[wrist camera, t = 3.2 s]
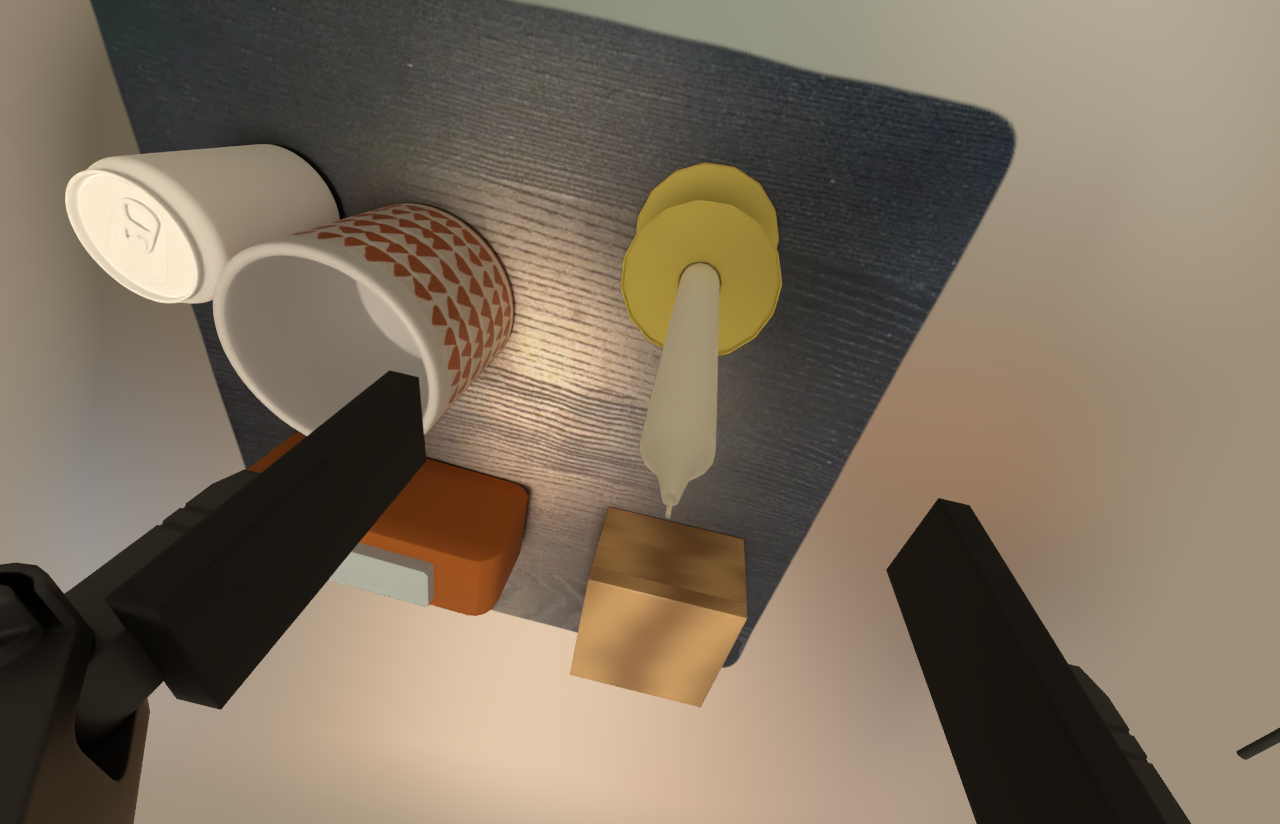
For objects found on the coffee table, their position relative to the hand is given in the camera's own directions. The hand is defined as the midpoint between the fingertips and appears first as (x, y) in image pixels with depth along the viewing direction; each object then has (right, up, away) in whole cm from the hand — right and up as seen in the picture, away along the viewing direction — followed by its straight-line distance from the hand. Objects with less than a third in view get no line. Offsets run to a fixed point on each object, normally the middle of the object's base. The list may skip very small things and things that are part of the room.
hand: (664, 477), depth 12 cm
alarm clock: (-24, -6, +39) cm, 46 cm away
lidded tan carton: (+2, -16, +41) cm, 44 cm away
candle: (+4, +14, +21) cm, 26 cm away
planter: (-17, +11, +27) cm, 34 cm away
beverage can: (-27, +18, +24) cm, 40 cm away
